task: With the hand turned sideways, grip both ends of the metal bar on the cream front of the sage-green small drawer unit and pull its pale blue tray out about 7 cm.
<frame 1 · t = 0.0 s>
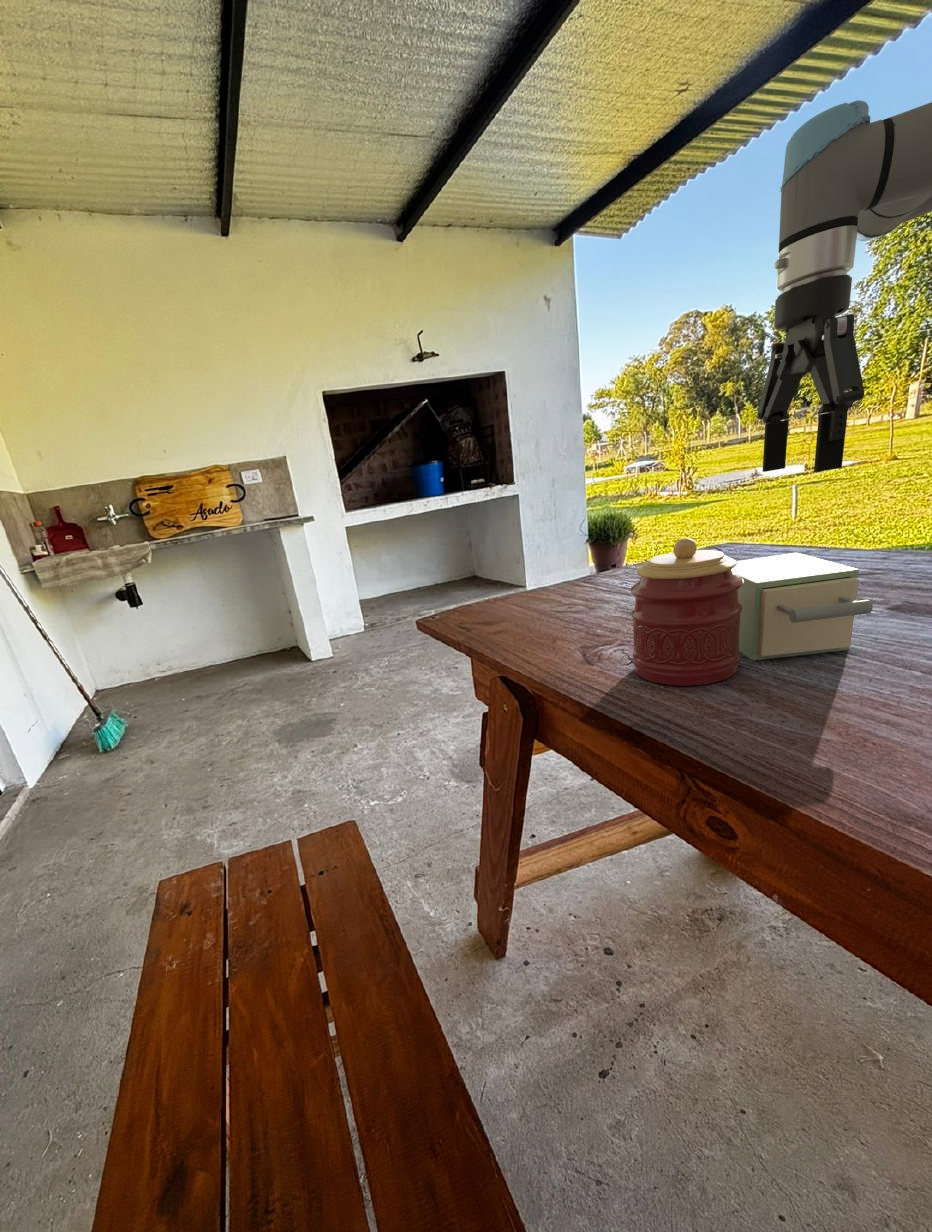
hand: (798, 470, 71), 22 cm above the table, tool pointing down, fingers open, 13 cm apart
small drawer unit: (772, 639, 76), on the table
tray: (791, 611, 70), point 5 cm above the table, slide at 0.0 cm
kitchen canister: (684, 670, 72), on the table
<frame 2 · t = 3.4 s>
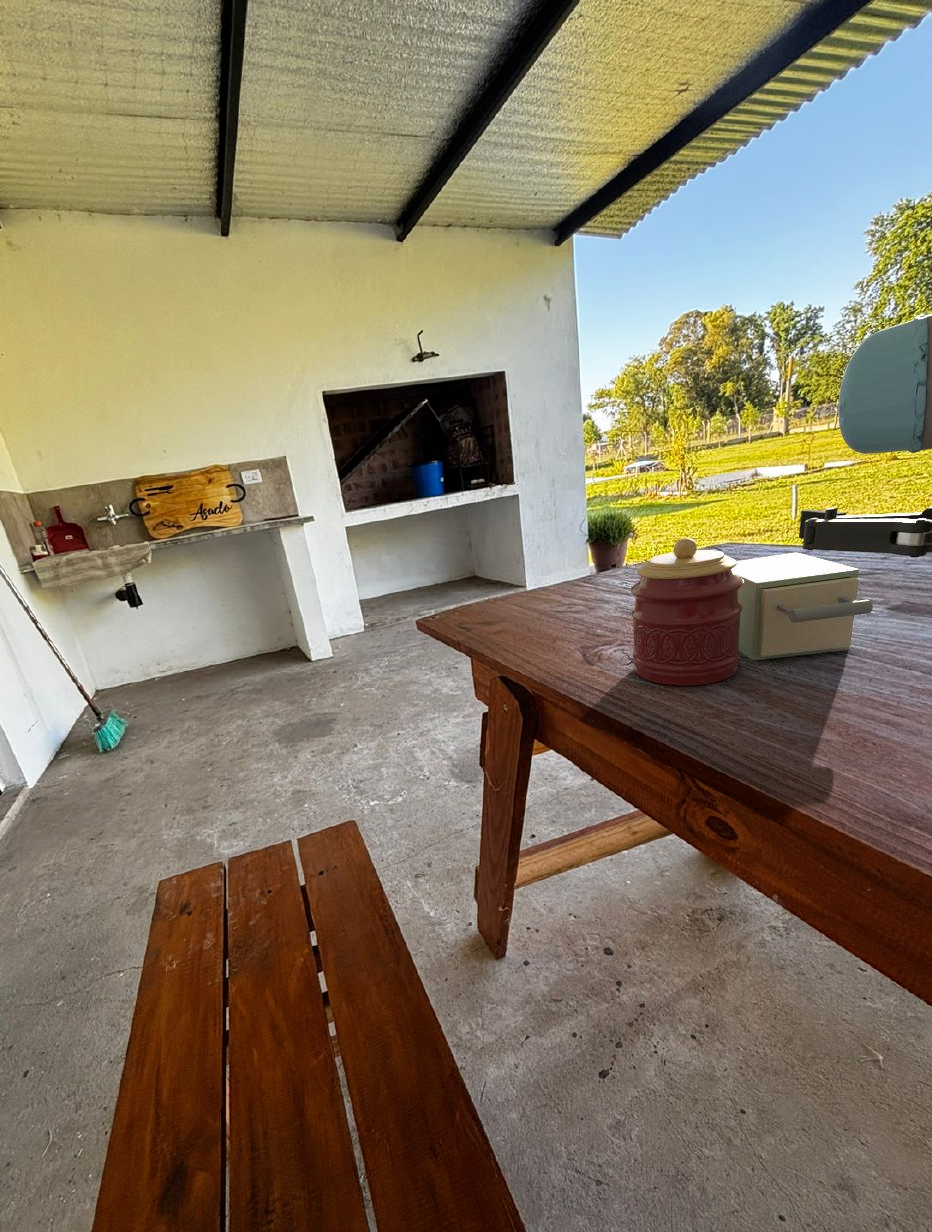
hand: (882, 514, 52), 19 cm above the table, tool horizontal, fingers open, 13 cm apart
nothing on the table moved.
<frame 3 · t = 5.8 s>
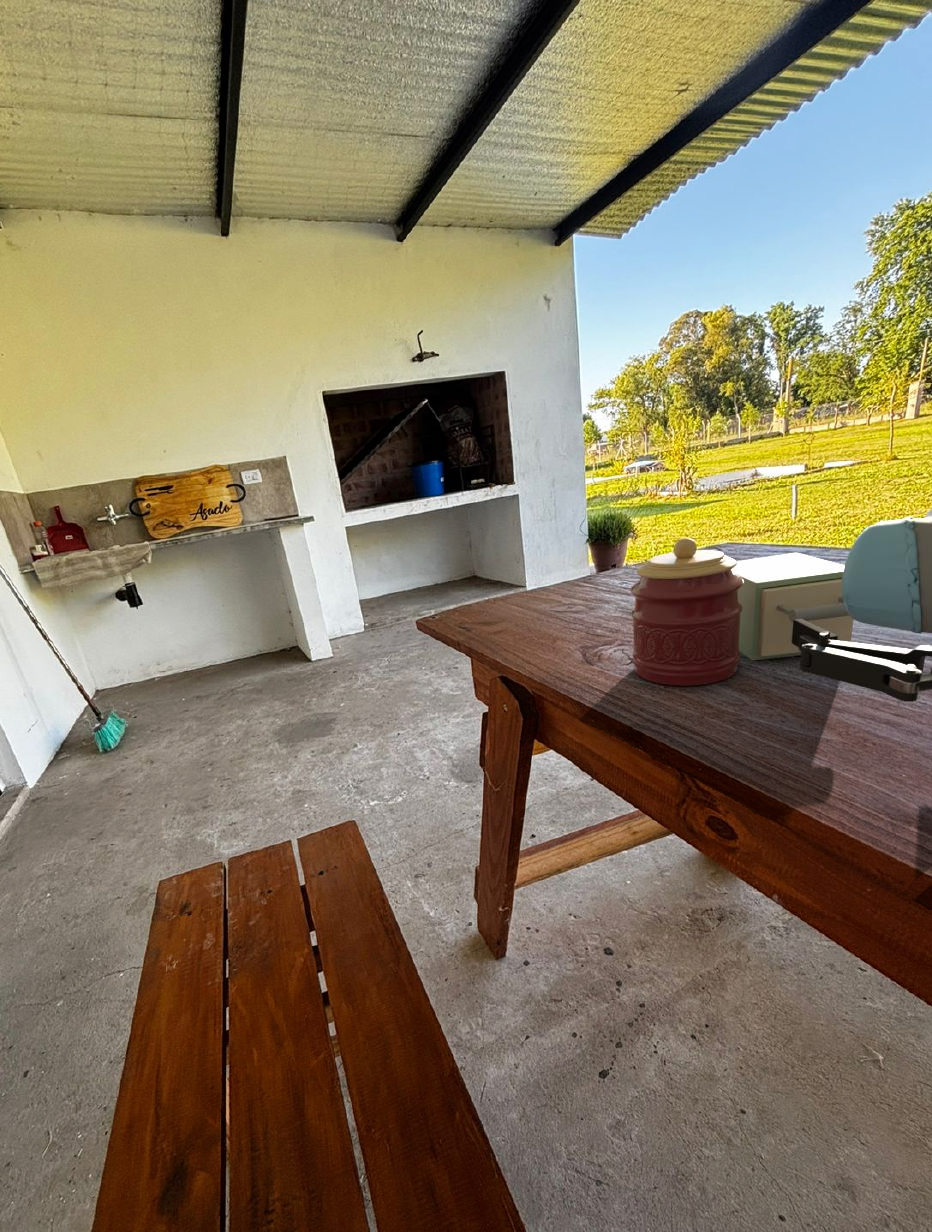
hand: (866, 622, 56), 8 cm above the table, tool horizontal, fingers open, 13 cm apart
nothing on the table moved.
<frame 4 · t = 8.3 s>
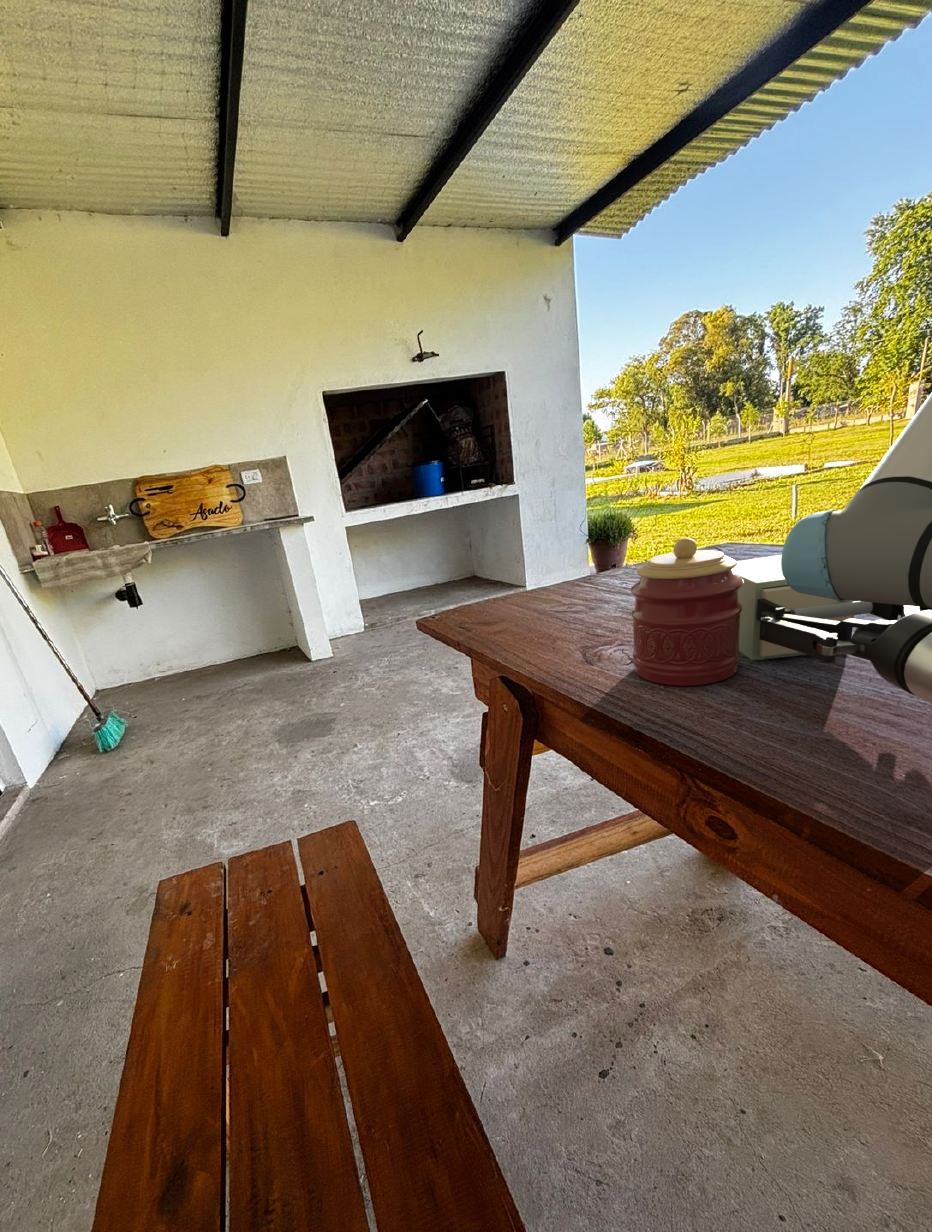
hand: (808, 602, 66), 7 cm above the table, tool horizontal, fingers closed on tray, 10 cm apart
tray: (791, 611, 70), point 5 cm above the table, slide at 0.0 cm, touching gripper
everything else where it was.
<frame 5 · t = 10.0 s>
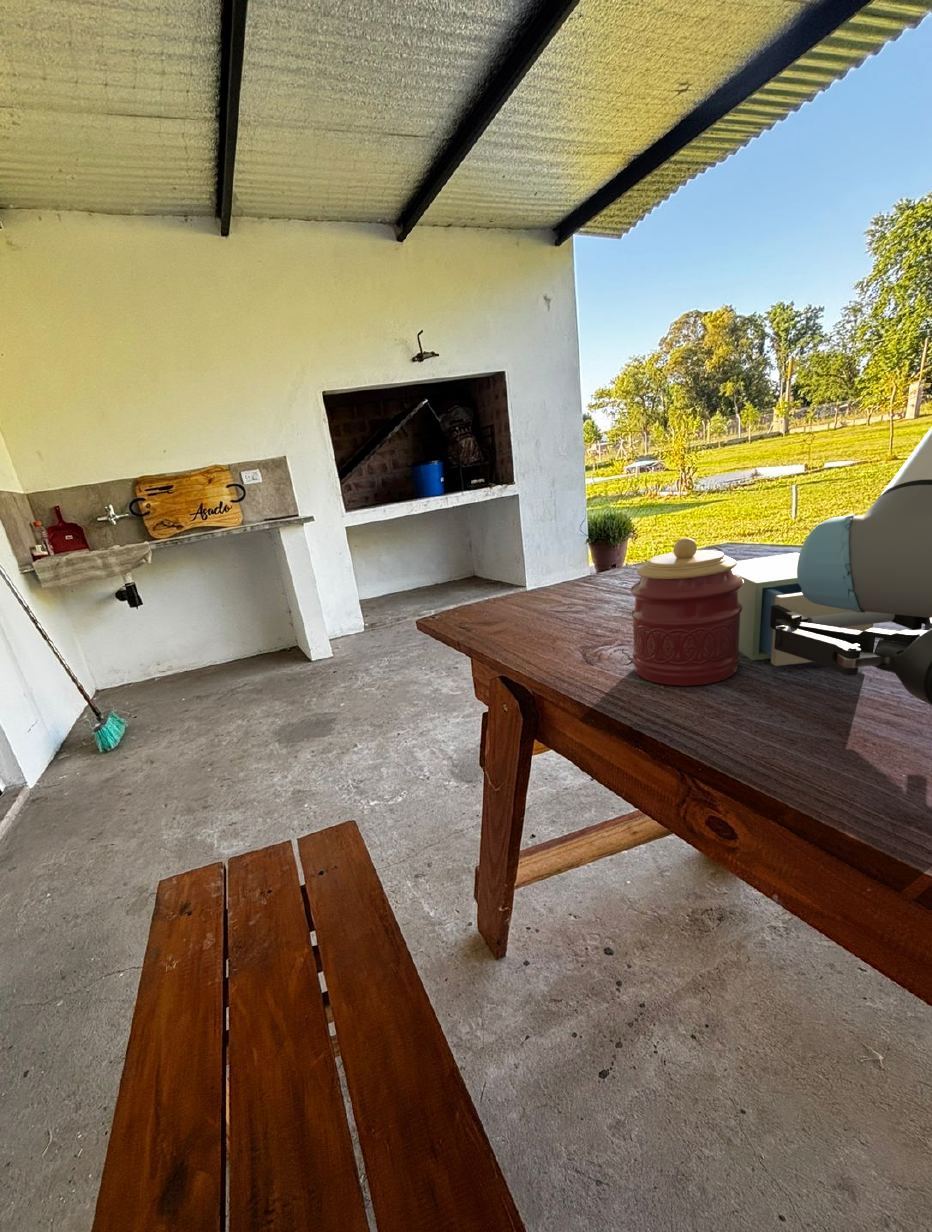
hand: (825, 609, 63), 7 cm above the table, tool horizontal, fingers closed on tray, 10 cm apart
tray: (805, 618, 67), point 5 cm above the table, slide at 3.6 cm, touching gripper
everything else where it was.
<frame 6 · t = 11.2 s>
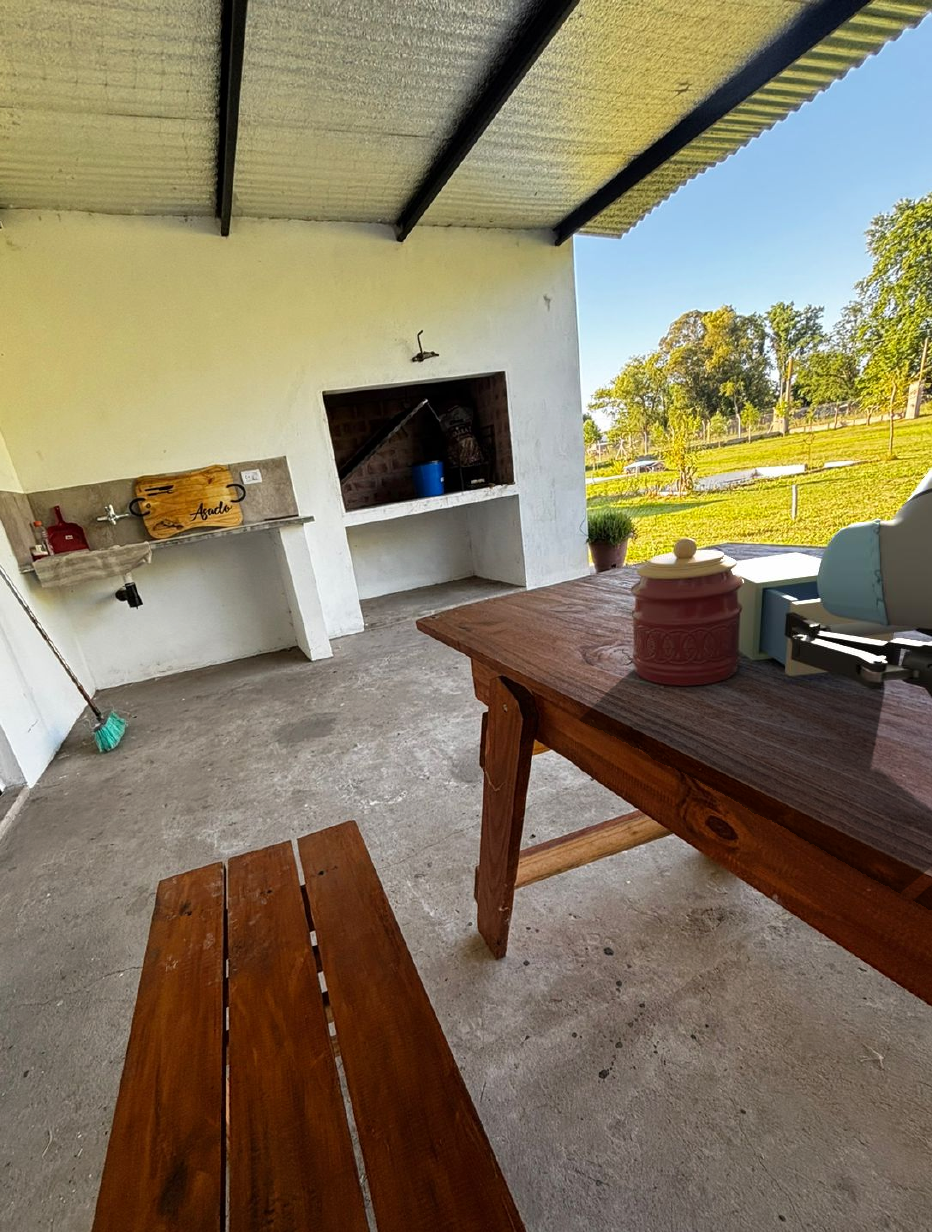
hand: (843, 617, 59), 7 cm above the table, tool horizontal, fingers closed on tray, 10 cm apart
tray: (821, 625, 64), point 5 cm above the table, slide at 7.2 cm, touching gripper
everything else where it was.
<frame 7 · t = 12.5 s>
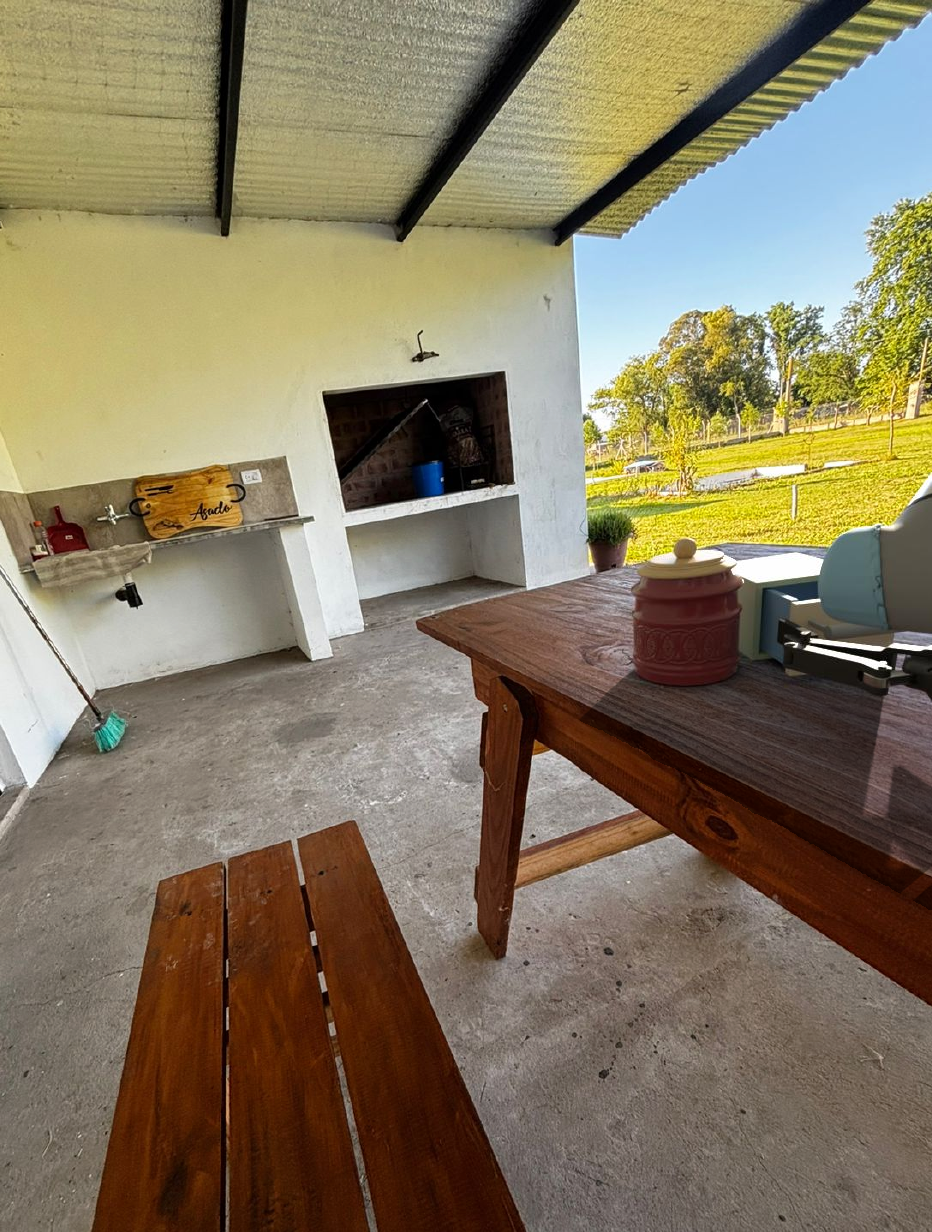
hand: (847, 622, 59), 7 cm above the table, tool horizontal, fingers open, 13 cm apart
tray: (821, 625, 64), point 5 cm above the table, slide at 7.2 cm
everything else where it was.
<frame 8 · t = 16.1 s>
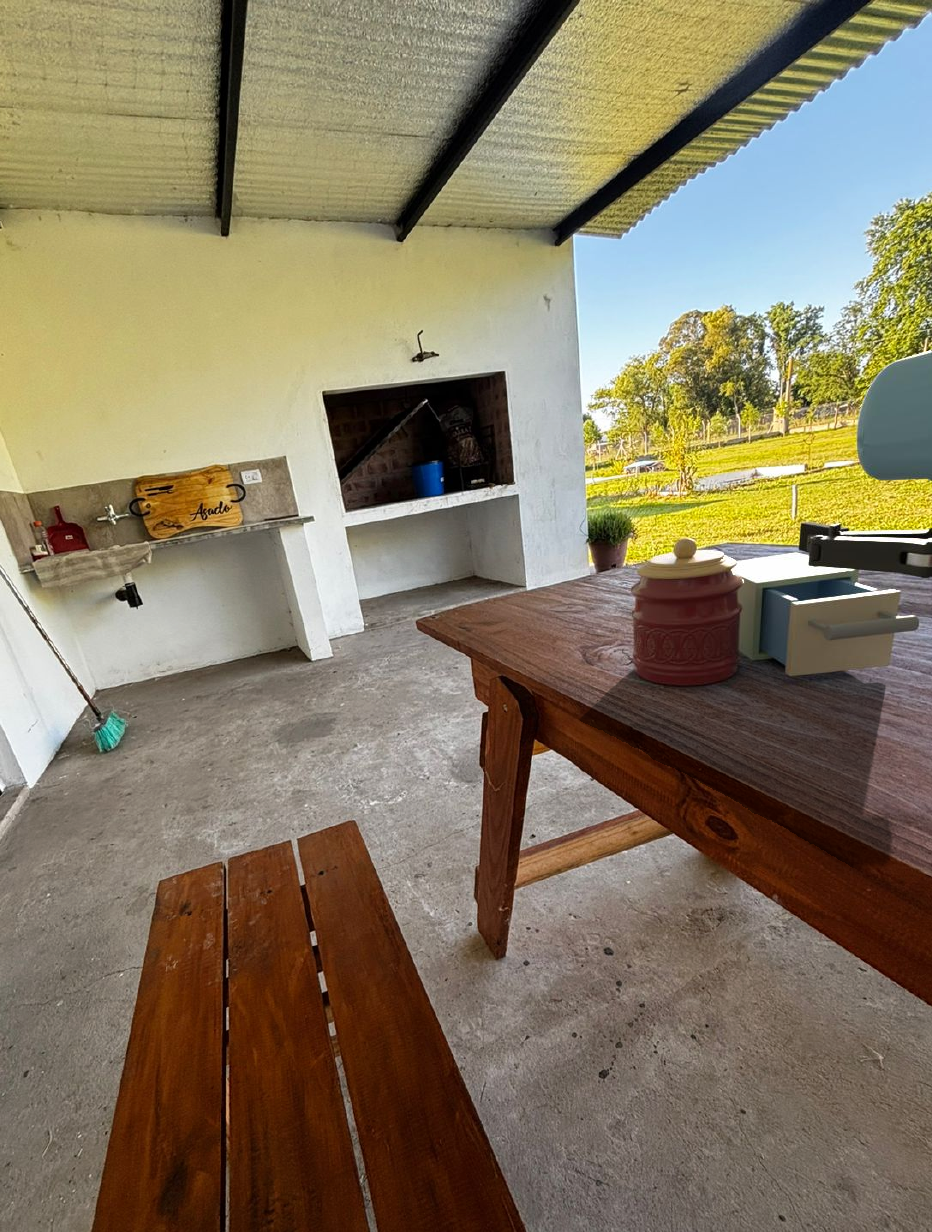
hand: (879, 524, 52), 18 cm above the table, tool horizontal, fingers open, 13 cm apart
nothing on the table moved.
at the end: tray slide at 7.2 cm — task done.
